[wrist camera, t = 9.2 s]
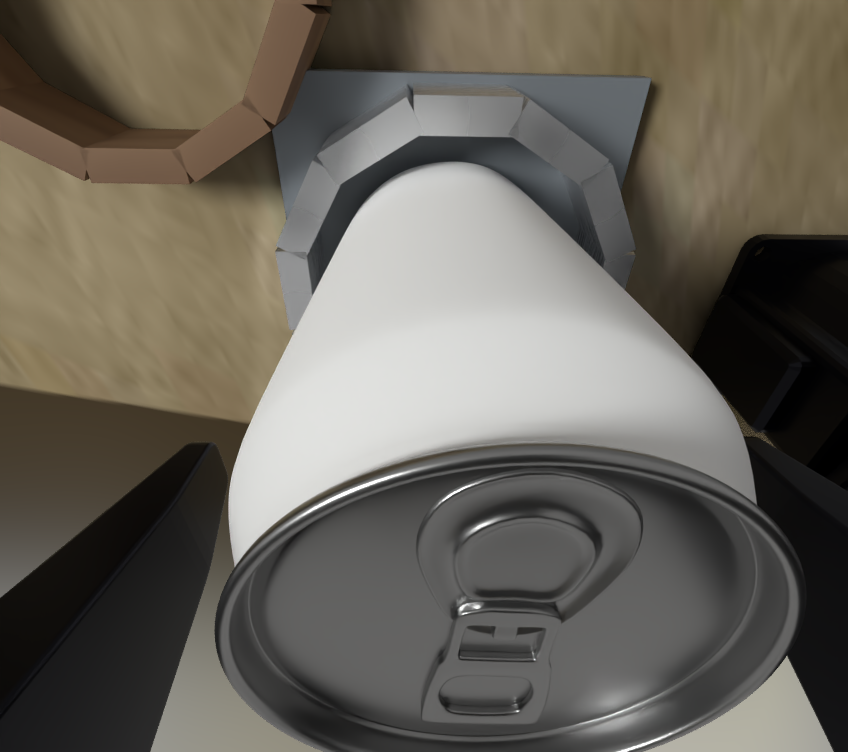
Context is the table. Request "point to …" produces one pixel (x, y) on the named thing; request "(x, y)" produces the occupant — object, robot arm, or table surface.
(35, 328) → the table surface
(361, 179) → the dock
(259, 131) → the brown segmented ring
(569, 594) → the can
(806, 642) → the robot arm
